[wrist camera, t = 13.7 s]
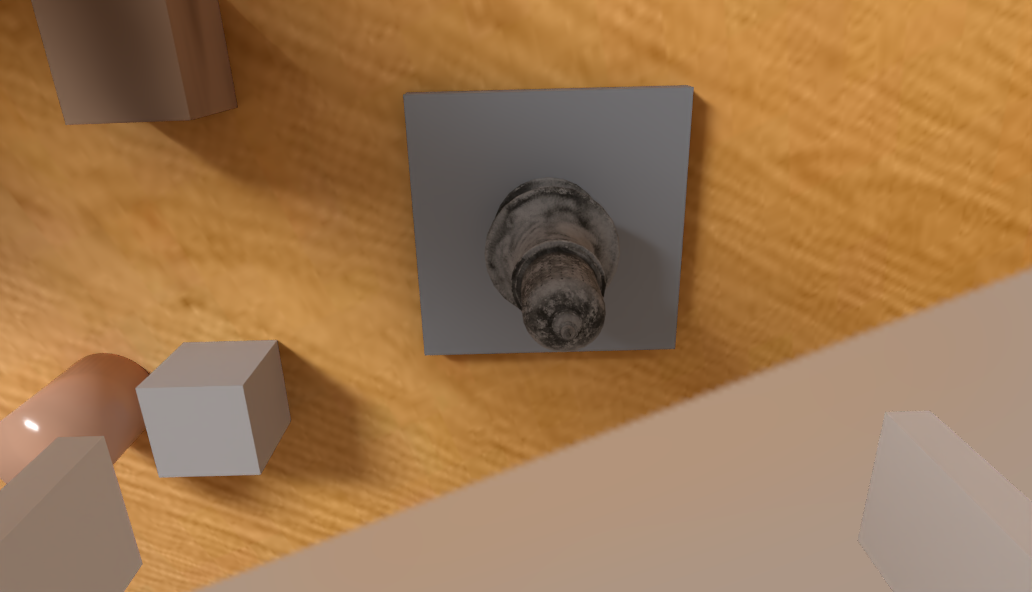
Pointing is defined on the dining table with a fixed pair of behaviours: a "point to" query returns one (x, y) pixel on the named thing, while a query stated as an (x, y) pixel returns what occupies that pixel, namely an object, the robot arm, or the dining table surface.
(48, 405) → the peach rounded capsule
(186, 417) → the grey block
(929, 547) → the robot arm
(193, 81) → the walnut block
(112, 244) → the dining table surface
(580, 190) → the salt shaker
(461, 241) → the slate board
